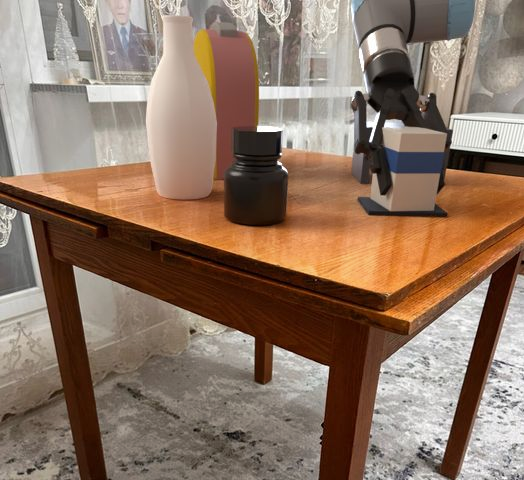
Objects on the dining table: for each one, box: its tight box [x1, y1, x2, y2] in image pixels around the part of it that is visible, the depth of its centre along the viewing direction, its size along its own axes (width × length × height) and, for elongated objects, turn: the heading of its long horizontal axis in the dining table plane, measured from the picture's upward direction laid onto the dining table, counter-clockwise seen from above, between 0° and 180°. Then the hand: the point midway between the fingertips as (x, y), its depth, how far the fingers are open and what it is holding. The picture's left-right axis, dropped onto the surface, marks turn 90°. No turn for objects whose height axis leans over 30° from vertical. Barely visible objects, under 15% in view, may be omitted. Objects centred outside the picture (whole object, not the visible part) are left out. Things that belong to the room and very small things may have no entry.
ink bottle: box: [223, 125, 289, 226], centre depth 75 cm, size 10×9×12 cm
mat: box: [357, 196, 449, 218], centre depth 86 cm, size 12×10×1 cm
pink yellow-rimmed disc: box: [193, 21, 260, 180], centre depth 107 cm, size 21×9×26 cm, turn 17°
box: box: [369, 127, 447, 211], centre depth 83 cm, size 7×9×11 cm
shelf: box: [350, 121, 454, 185], centre depth 107 cm, size 16×12×10 cm
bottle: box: [145, 14, 217, 201], centre depth 85 cm, size 11×11×25 cm
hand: (412, 189), depth 81 cm, fingers open, 8 cm apart
